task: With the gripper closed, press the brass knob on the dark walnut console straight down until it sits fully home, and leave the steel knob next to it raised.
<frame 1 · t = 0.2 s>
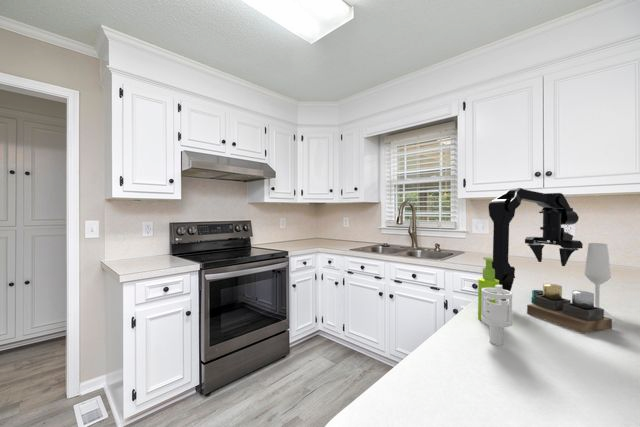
hand: (551, 263, 116), 14 cm above the countertop, tool pointing down, fingers open, 9 cm apart
digital multimeter: (543, 302, 115), on the countertop
champagne flute: (597, 312, 102), on the countertop
knob console: (566, 320, 94), on the countertop
soap dispenser: (488, 319, 95), on the countertop
steel knob: (582, 299, 89), point 8 cm above the countertop, slide at 0.0 cm
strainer: (496, 343, 78), on the countertop
brass knob: (552, 291, 98), point 8 cm above the countertop, slide at 0.0 cm
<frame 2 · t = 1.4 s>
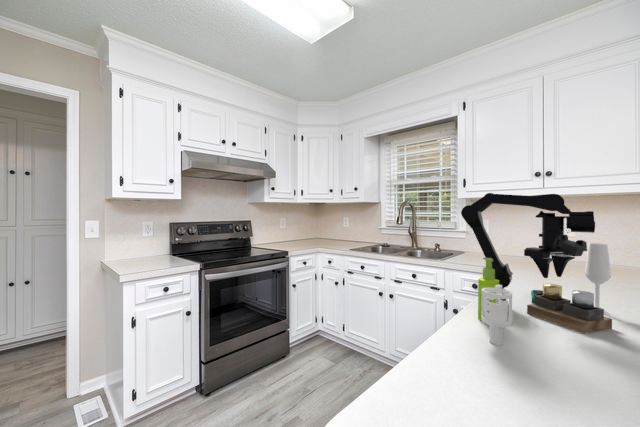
hand: (552, 277, 98), 13 cm above the countertop, tool pointing down, fingers open, 6 cm apart
nothing on the countertop moved.
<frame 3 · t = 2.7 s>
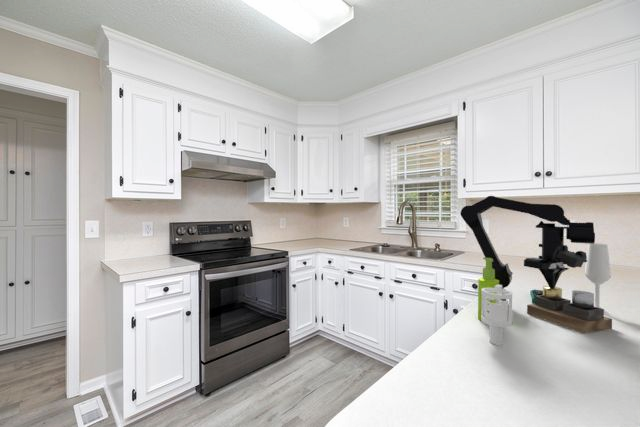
hand: (552, 287, 98), 9 cm above the countertop, tool pointing down, fingers closed, pressing on brass knob
brass knob: (552, 293, 98), point 7 cm above the countertop, slide at 0.8 cm, touching gripper
everything else where it was.
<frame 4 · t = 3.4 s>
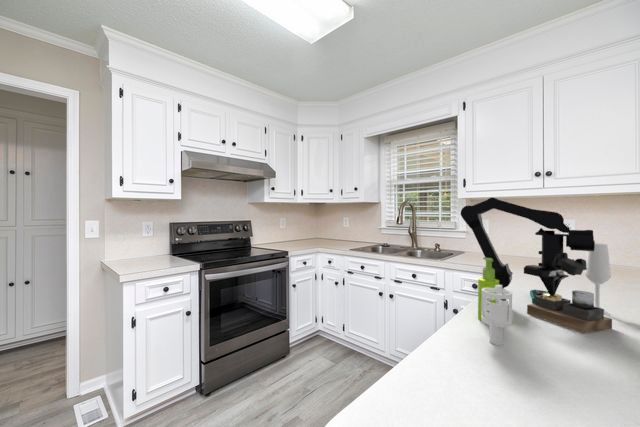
hand: (552, 295, 98), 7 cm above the countertop, tool pointing down, fingers closed, pressing on brass knob
brass knob: (552, 300, 98), point 5 cm above the countertop, slide at 3.2 cm, touching gripper
everything else where it was.
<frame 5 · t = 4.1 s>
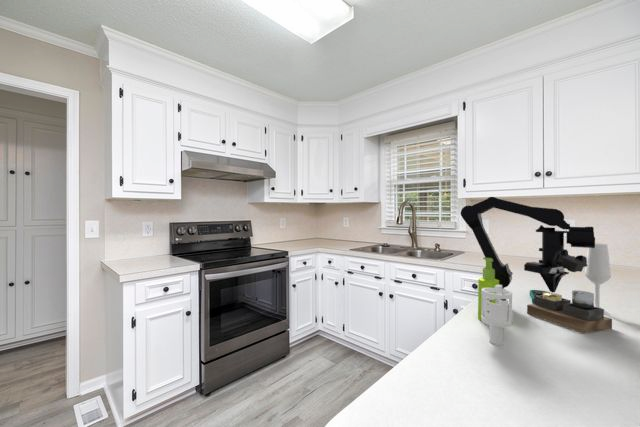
hand: (552, 292, 98), 8 cm above the countertop, tool pointing down, fingers closed
brass knob: (552, 300, 98), point 5 cm above the countertop, slide at 3.1 cm
everything else where it was.
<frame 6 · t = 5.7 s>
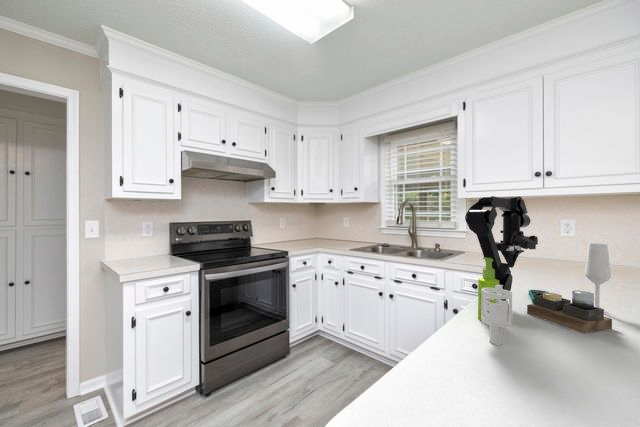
hand: (511, 267, 115), 13 cm above the countertop, tool pointing down, fingers closed
nothing on the countertop moved.
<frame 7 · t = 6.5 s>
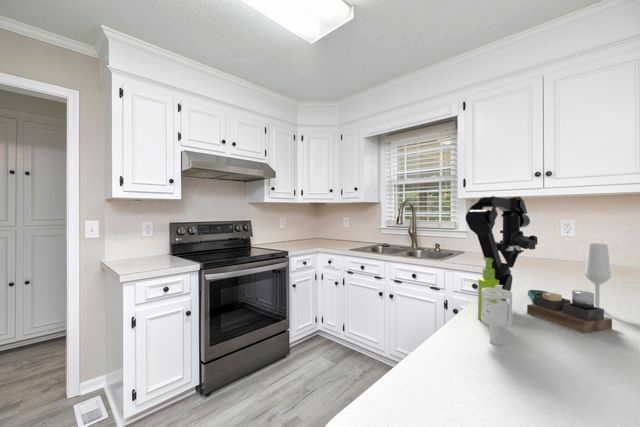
hand: (510, 267, 115), 13 cm above the countertop, tool pointing down, fingers closed
nothing on the countertop moved.
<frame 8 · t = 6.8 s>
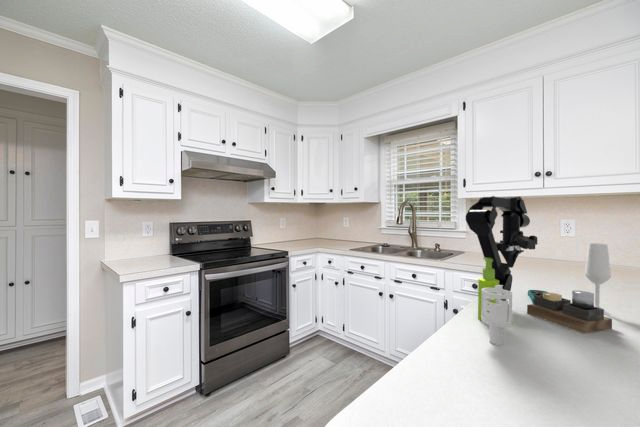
hand: (510, 267, 115), 13 cm above the countertop, tool pointing down, fingers closed
nothing on the countertop moved.
at the end: brass knob slide at 3.1 cm; steel knob slide at 0.0 cm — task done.
